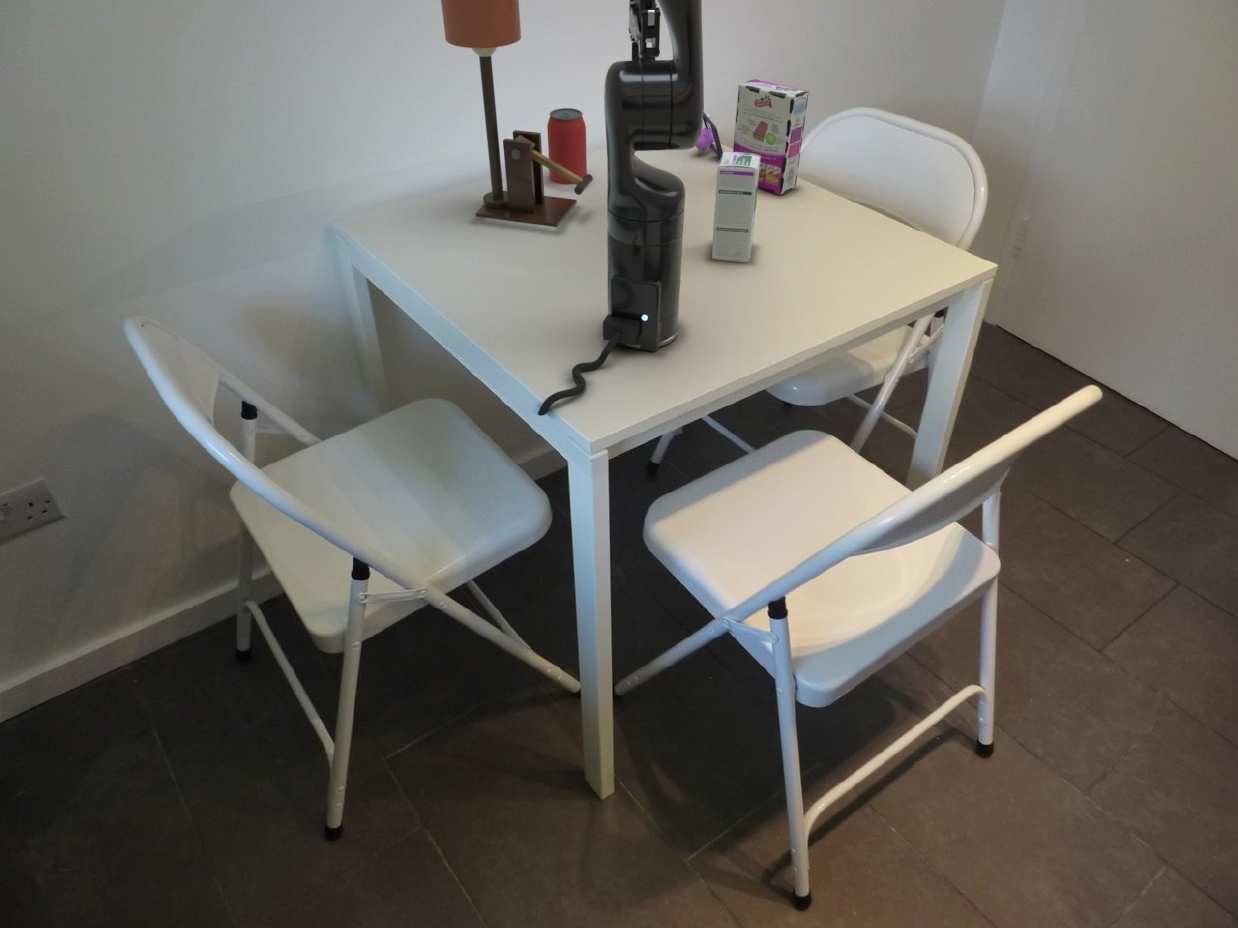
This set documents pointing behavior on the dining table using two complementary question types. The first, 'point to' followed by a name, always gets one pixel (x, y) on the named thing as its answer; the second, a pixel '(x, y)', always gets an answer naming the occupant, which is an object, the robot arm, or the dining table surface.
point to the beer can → (567, 143)
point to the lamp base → (527, 186)
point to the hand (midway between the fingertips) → (642, 77)
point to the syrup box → (735, 206)
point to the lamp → (485, 63)
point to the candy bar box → (771, 131)
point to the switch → (560, 169)
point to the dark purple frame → (709, 137)
